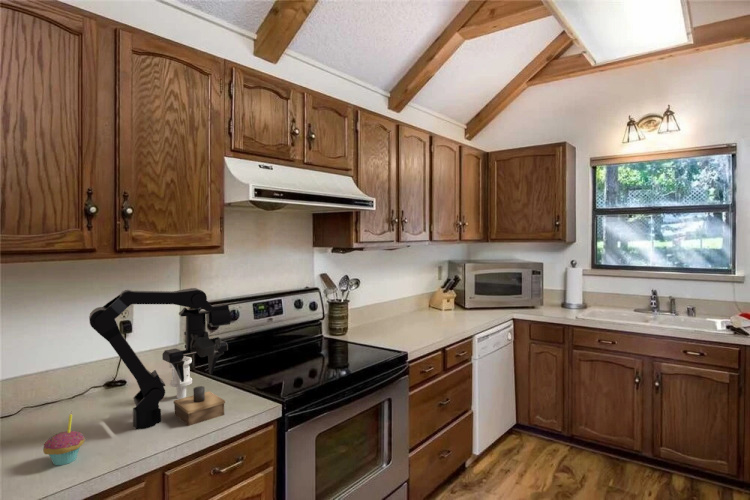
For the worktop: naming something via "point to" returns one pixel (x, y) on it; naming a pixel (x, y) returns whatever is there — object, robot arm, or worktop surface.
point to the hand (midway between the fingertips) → (196, 377)
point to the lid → (198, 400)
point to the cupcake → (64, 445)
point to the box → (199, 414)
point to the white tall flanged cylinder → (176, 380)
